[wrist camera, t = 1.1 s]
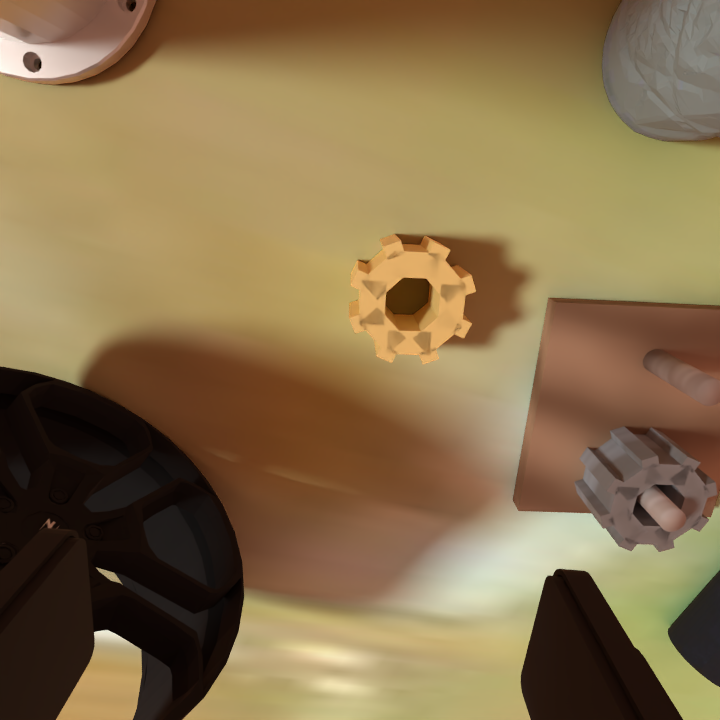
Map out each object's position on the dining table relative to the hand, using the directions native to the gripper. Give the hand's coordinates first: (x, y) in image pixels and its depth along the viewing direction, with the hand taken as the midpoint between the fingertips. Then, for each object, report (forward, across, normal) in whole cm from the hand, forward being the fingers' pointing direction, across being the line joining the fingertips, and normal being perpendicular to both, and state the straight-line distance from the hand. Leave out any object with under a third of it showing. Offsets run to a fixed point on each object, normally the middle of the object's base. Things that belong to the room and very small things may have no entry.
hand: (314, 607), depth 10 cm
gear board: (+21, -19, +3) cm, 29 cm away
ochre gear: (+21, -3, -3) cm, 21 cm away
